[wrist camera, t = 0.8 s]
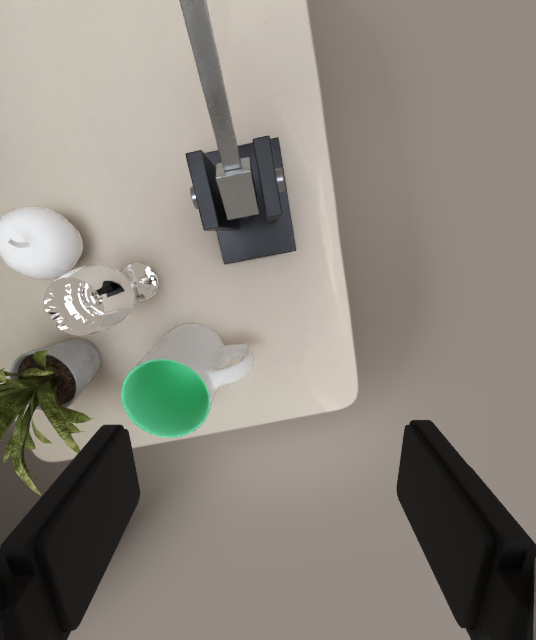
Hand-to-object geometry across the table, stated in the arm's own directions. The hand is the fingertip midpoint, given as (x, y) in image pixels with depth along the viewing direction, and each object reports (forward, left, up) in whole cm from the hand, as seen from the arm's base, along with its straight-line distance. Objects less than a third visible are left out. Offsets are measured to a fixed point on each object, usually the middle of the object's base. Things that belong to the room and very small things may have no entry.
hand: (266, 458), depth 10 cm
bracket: (-10, -3, -26) cm, 28 cm away
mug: (+7, -7, -26) cm, 28 cm away
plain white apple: (-5, -23, -26) cm, 35 cm away
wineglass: (-1, -15, -26) cm, 30 cm away
